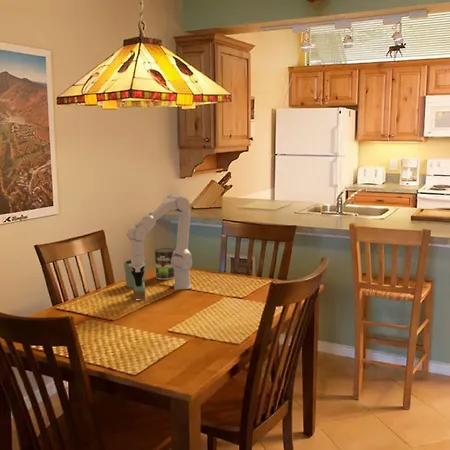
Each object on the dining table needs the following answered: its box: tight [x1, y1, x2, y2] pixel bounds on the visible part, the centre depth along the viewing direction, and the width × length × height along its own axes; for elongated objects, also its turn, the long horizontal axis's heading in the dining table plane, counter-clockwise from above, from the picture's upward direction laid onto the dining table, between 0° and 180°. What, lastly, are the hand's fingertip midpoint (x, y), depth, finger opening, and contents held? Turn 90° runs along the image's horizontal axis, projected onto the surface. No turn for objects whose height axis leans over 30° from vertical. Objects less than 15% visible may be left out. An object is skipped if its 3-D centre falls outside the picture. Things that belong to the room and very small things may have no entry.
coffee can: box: [154, 247, 176, 281], centre depth 278 cm, size 10×10×14 cm
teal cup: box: [123, 259, 146, 289], centre depth 265 cm, size 10×10×12 cm
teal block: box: [133, 278, 144, 292], centre depth 244 cm, size 4×4×5 cm
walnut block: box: [132, 287, 146, 301], centre depth 245 cm, size 5×5×4 cm
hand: (138, 283), depth 244 cm, fingers open, 7 cm apart
